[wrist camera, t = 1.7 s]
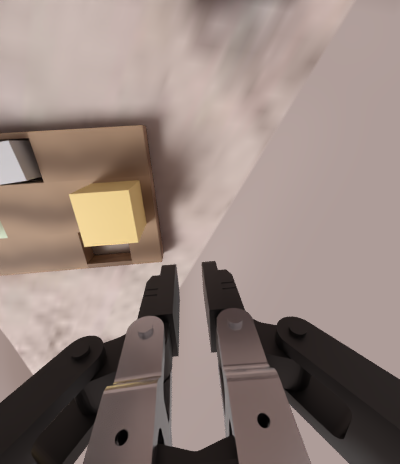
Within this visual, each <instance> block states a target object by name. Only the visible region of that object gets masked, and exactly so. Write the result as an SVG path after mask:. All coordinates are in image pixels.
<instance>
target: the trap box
mask: <svg viewBox="0 0 400 464" xmlns="http://www.w3.org/2000/svg"><path fill="white" fill-rule="evenodd" d="M21 139H29V140H30V143H31V146H32V149H33V152H34V155H35V158H36V160H37V163H38V166H39V169H40V172H41V175H42V178H43V180H35V181H21V182H15V183H8V184H2V185H0V276H2V275H14V274H26V273H37V272H49V271H61V270H72V269H84V268H96V267H107V266H119V265H130V264H142V263H154V262H162V259H163V246H162V239H161V231H160V224H159V217H158V210H157V203H156V196H155V189H154V181H153V174H152V167H151V160H150V153H149V146H148V139H147V131H146V126H143V125H135V126H118V127H101V128H83V129H66V130H49V131H32V132H14V133H0V141H4V140H21ZM134 180H139V181H140V187H141V193H142V199H143V205H144V211H145V217H146V223H147V224H146V226H145V228H144V231H143V233H142V235H141V238H140V240H139V242H138V243H129V248H130V252H128V253H116V254H104V255H94V253H93V249H92V246H90V247H84V243H83V240H82V237H81V233H80V230H79V227H78V223H77V220H76V217H75V213H74V210H73V207H72V203H71V200H70V197H69V194H71V193H73V192H75V191H77V190H79V189H81V188H83V187H85V186H87V185H89V184H92V183H105V182H120V181H134Z"/></svg>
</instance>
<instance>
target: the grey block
mask: <svg viewBox="0 0 400 464" xmlns="http://www.w3.org/2000/svg"><path fill="white" fill-rule="evenodd" d="M39 177H42V175H41V172H40V169H39V166H38V163H37V160H36V158H35V155H34V152H33V149H32V146H31V143H30V141H2V142H0V185H2V184H8V183H15V182H21V181H27V180H31V179H35V178H39Z"/></svg>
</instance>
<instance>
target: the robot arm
mask: <svg viewBox="0 0 400 464" xmlns="http://www.w3.org/2000/svg"><path fill="white" fill-rule="evenodd" d="M202 277H203V292H204V301H205V308H206V316H207V323H208V331H209V337H210V345H211V352H217V357H218V369H219V379H220V387H221V396H222V404H223V412H224V422H225V433H226V438H224V439H222V440H220V441H218V442H216V443H214V444H212V445H210V446H208V447H206V448H204V449H202V450H199V451H189V450H184V449H180V448H176V447H172V435H171V404H172V372H171V370H172V357H173V356H178V353H179V352H178V351H179V348H178V347H179V305H180V304H179V303H180V297H179V284H178V276H177V267H176V264H175V265H163V266H162V268H161V274H160V275H158V276H152V277H151V278H150V279H149V280H148V282H147V283H146V287H145V291H144V295H143V299H142V303H141V307H140V311H139V315H138V319H137V320H136V321H134V322H133V323H132V324H131V325H130V326H129V328H128V330H127V333H126V334H125V335H123V336H121V337H119V338H117V339H114V340H111V341H108V342H106V343H103V341H102V340H101V338H99V337H97V336H86V337H83V338H80V339H78V340H76V341H74V342H73V343H71V344H70V345H69V346H68V347H66V348H65V349H64V350H63V351H62V352H60V353H59V354H58V355H57V356H56V357H54V358H53V359H52V360H51V361H50V362H48V363H47V364H46V365H45V366H44V367H42V368H41V369H40V370H39V371H38V372H37V373H35V374H34V375H33V376H32V377H31V378H29V379H28V380H27V381H26V382H25V383H23V384H22V385H21V386H20V387H19V388H17V389H16V390H15V391H14V392H13V393H11V394H10V395H9V396H8V397H7V398H6V399H4V400H3V401H2V402H1V403H0V464H74V462H75V461H76V460H77V459H78V457H79V456H80V455H81V453H82V452H83V451H84V449H85V448H86V447H87V445H88V448H87V451H86V455H85V458H84V462H83V464H311V462H310V459H309V456H308V454H307V451H306V448H305V446H304V443H303V440H302V438H301V435H300V432H299V429H298V427H297V424H296V422H295V419H294V416H293V413H292V410H291V408H290V405H291V406H292V407H293V408H294V409H295V410H296V411H297V412H298V413H299V414H300V415H301V416H302V417H303V418H304V419H305V420H306V421H307V422H308V423H309V424H310V425H311V426H312V427H313V428H314V429H315V430H316V431H317V432H318V433H319V434H320V435H321V436H322V437H323V438H324V439H325V440H326V441H327V442H328V443H329V444H330V445H331V446H332V447H333V448H334V449H335V450H336V451H337V452H338V453H339V454H340V455H341V456H342V457H343V458H344V459H345V460H346V461H347V462H348V463H349V464H400V379H398V378H396V377H395V376H393V375H392V374H390V373H389V372H387V371H385V370H384V369H382V368H380V367H379V366H377V365H376V364H374V363H373V362H371V361H369V360H368V359H366V358H364V357H363V356H362V355H360V354H358V353H357V352H355V351H354V350H352V349H350V348H349V347H347V346H346V345H344V344H342V343H341V342H339V341H337V340H336V339H334V338H333V337H331V336H330V335H328V334H327V333H325V332H323V331H322V330H320V329H318V328H317V327H315V326H314V325H312V324H311V323H309V322H307V321H306V320H303V319H301V318H298V317H285V318H282V319H281V320H279V322H278V323H277V325H271V324H266V323H261V322H258V321H256V320H254V319H252V317H251V316H250V314H249V313H248V312H246V311H245V309H244V306H243V304H242V301H241V298H240V295H239V293H238V290H237V288H236V284H235V282H234V279H233V276H232V274H231V273H229V272H228V271H227V270H218V269H217V266H216V262H215V261H209V262H202ZM289 404H290V405H289ZM61 411H62V412H61ZM46 427H47V428H46Z"/></svg>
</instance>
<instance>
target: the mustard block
mask: <svg viewBox="0 0 400 464" xmlns="http://www.w3.org/2000/svg"><path fill="white" fill-rule="evenodd" d="M69 197H70V200H71V203H72V207H73V210H74V213H75V217H76V220H77V223H78V227H79V230H80V233H81V237H82V240H83V243H84V247H90V246H102V245H114V244H127V243H138V242H139V240H140V238H141V235H142V233H143V231H144V228H145V226H146V224H147V223H146V217H145V211H144V205H143V199H142V193H141V187H140V181H139V180H134V181H120V182H105V183H92V184H89V185H87V186H85V187H83V188H81V189H79V190H77V191H75V192H73V193H71V194H69Z"/></svg>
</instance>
